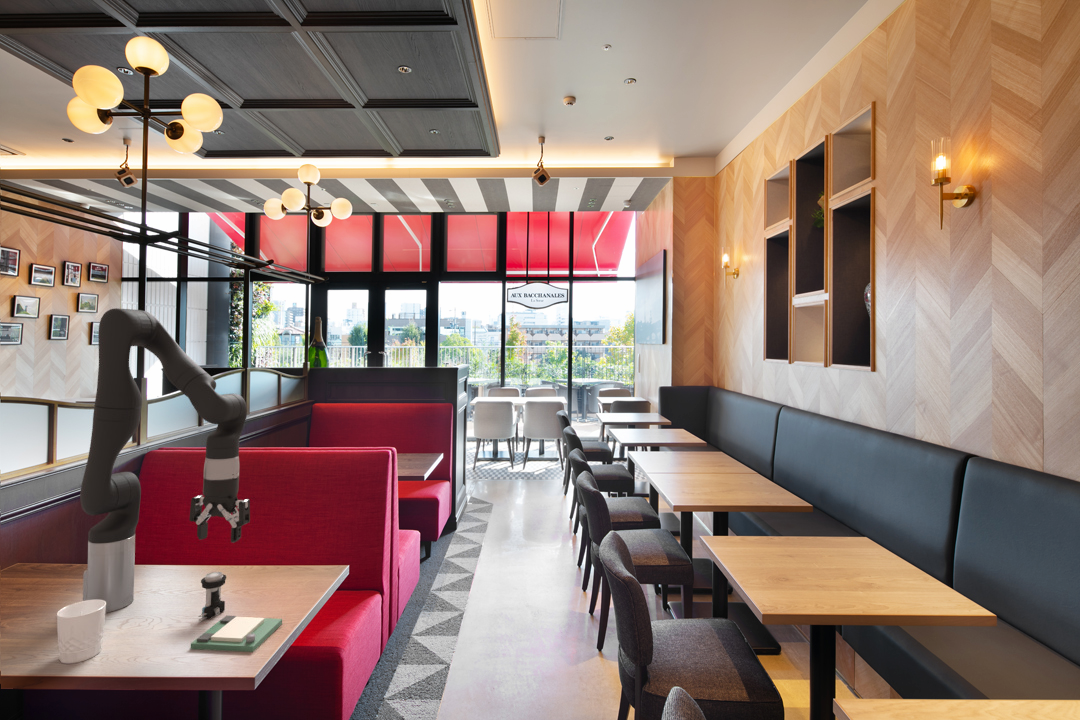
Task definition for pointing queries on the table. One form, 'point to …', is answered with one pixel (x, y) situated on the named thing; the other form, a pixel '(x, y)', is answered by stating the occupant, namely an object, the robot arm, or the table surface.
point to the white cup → (80, 630)
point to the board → (237, 634)
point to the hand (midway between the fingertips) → (218, 540)
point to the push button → (213, 595)
